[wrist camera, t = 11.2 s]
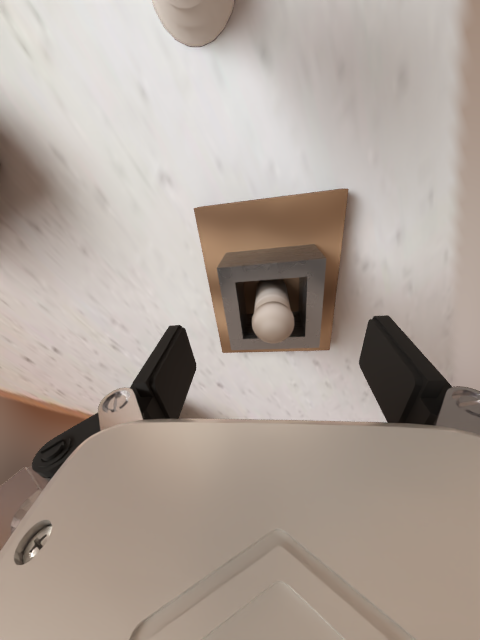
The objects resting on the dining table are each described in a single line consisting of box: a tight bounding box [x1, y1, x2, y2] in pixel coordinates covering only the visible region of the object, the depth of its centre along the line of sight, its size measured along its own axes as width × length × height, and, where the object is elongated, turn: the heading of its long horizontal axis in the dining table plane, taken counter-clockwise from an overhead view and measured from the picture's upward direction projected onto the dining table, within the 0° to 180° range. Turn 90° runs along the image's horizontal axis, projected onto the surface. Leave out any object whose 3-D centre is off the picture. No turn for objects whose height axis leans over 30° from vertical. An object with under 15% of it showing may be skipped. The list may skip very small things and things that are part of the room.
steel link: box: [217, 244, 326, 350], centre depth 18 cm, size 7×7×4 cm
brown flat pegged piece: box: [194, 189, 348, 353], centre depth 17 cm, size 14×11×8 cm
